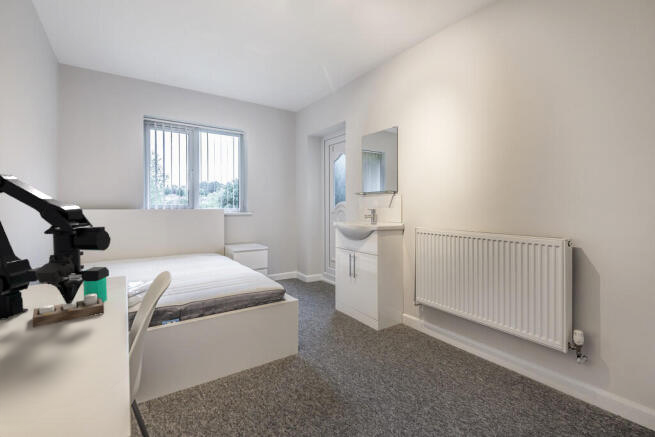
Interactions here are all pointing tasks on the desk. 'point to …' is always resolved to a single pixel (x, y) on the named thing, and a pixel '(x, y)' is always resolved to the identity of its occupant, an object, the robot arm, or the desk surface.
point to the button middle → (69, 305)
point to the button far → (90, 299)
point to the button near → (46, 309)
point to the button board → (67, 313)
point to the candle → (96, 288)
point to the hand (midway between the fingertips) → (69, 303)
